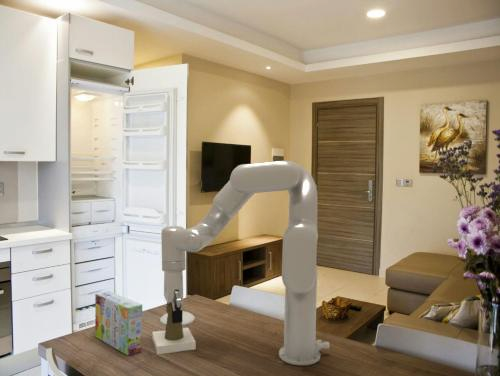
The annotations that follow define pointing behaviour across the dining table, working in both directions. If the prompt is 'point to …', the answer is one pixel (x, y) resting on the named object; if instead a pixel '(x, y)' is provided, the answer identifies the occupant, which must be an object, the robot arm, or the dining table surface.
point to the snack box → (118, 322)
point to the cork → (172, 326)
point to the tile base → (173, 342)
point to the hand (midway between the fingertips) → (174, 317)
